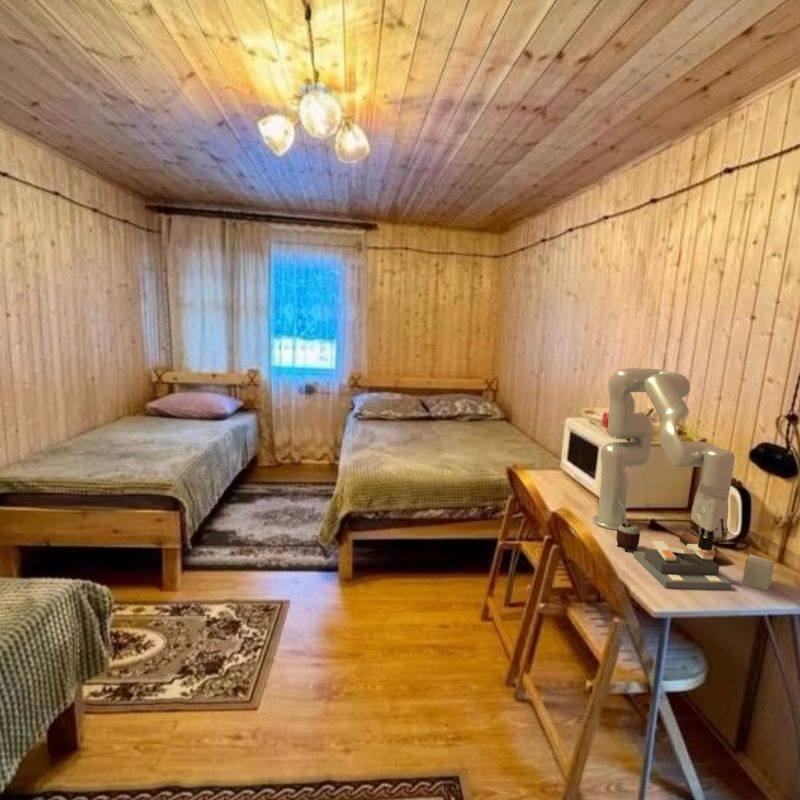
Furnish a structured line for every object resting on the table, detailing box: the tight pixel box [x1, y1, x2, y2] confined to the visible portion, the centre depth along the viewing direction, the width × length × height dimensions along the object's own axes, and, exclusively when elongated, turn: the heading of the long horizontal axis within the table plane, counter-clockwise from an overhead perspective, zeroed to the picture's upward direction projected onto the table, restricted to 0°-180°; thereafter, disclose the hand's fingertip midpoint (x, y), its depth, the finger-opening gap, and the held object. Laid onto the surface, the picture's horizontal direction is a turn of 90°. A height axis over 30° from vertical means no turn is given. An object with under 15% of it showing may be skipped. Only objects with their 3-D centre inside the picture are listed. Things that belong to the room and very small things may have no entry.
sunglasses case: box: [679, 532, 736, 566], centre depth 167 cm, size 18×7×7 cm
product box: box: [742, 554, 775, 592], centre depth 147 cm, size 6×6×7 cm
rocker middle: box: [668, 547, 695, 556], centre depth 151 cm, size 8×3×2 cm, turn 0°
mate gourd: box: [616, 500, 641, 553], centre depth 167 cm, size 8×8×15 cm
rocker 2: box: [686, 544, 713, 559], centre depth 151 cm, size 8×3×2 cm, turn 0°
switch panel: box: [633, 548, 732, 590], centre depth 152 cm, size 19×19×5 cm
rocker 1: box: [652, 540, 676, 561], centre depth 151 cm, size 8×3×2 cm, turn 1°
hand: (704, 548), depth 149 cm, fingers closed
